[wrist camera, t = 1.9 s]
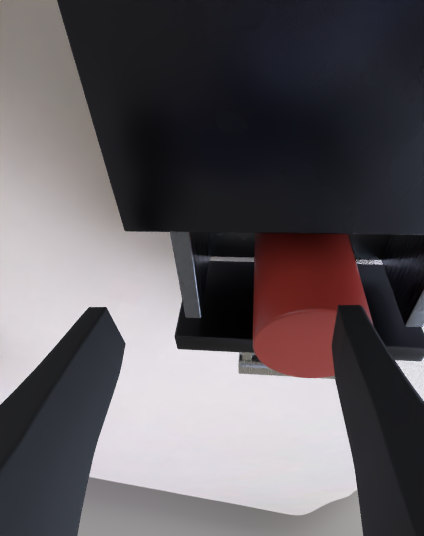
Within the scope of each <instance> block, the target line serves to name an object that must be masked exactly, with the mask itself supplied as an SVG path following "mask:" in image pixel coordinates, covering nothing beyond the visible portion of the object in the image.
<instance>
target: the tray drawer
mask: <svg viewBox="0 0 424 536" xmlns="http://www.w3.org/2000/svg"><path fill="white" fill-rule="evenodd" d="M170 235H171V240H172V246H173V251H174V257H175V262H176V268H177V273H178V279H179V284H180V289H181V295H182V303H181V308H180V313H179V318H178V323H177V327H176V332H175V340H176V344H177V348H178V349H188V350H208V351H227V352H239V373H241V374H258V375H275V376H289V375H285V374H282V373H279V372H277V371H274V370H272V369H270V368H268V367H267V366H266V365H264V364H263V363H262V362H261V361H260V360H259V359H258V358H257V356H256V354H255V352H254V349H253V303H254V262H233V261H210V256H217V257H254V256H255V233H217V232H170ZM348 235H349V239H350V242H351V246H352V250H353V253H354V257H355V259H364V260H382V263H383V265H370V264H357V268H358V271H359V275H360V279H361V282H362V286H363V289H364V293H365V297H366V300H367V304H368V308H369V311H370V315H371V318H372V322H373V326H374V328H375V330H376V331H377V333H378V335H379V336H380V338H381V340H382V341H383V343H384V344H385V346H386V348H387V349H388V351H389V352H390V354H391V356H392V357H393V359H394V360H404V361H422V360H423V358H424V333H423V330H422V328H421V327H423V326H424V235H376V234H348ZM293 377H294V376H293ZM323 378H327V379H335V376H330V377H323Z"/></svg>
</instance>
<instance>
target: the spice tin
mask: <svg viewBox="0 0 424 536" xmlns="http://www.w3.org/2000/svg"><path fill="white" fill-rule="evenodd" d="M338 305H361V306H362V307H364V309H365V311H366V313H367V315H368V317H369V319H370V321H371V323H372V324H373V322H372V318H371V315H370V311H369V308H368V304H367V300H366V297H365V293H364V289H363V286H362V282H361V279H360V275H359V271H358V268H357V264H356V260H355V257H354V253H353V250H352V246H351V242H350V239H349V235H348V234H296V233H255V256H254V303H253V349H254V352H255V354H256V356H257V358H258V359H259V360H260V361H261V362H262V363H263V364H264V365H266V366H267V367H268V368H270V369H272V370H274V371H277V372H279V373H282V374H285V375H289V376H294V377H302V378H323V377H330V376H335V373H334V365H333V355H332V346H331V345H332V339H333V333H334V327H335V321H336V315H337V308H338Z"/></svg>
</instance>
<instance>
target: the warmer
mask: <svg viewBox="0 0 424 536" xmlns="http://www.w3.org/2000/svg"><path fill="white" fill-rule="evenodd" d="M57 2H58V5H59V9H60V12H61V15H62V19H63V22H64V26H65V29H66V33H67V36H68V39H69V43H70V46H71V50H72V53H73V56H74V60H75V63H76V67H77V70H78V73H79V77H80V80H81V84H82V87H83V90H84V94H85V97H86V101H87V104H88V108H89V111H90V114H91V118H92V121H93V125H94V128H95V131H96V135H97V138H98V142H99V145H100V148H101V152H102V155H103V159H104V162H105V166H106V169H107V172H108V176H109V179H110V183H111V186H112V189H113V193H114V196H115V200H116V203H117V206H118V210H119V213H120V217H121V220H122V223H123V227H124V230H125V231H137V232H217V233H296V234H376V235H424V0H57Z"/></svg>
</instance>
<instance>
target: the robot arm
mask: <svg viewBox="0 0 424 536" xmlns="http://www.w3.org/2000/svg"><path fill="white" fill-rule="evenodd" d="M331 346H332V355H333V365H334V373H335V380H336V385H337V389H338V394H339V398H340V403H341V407H342V412H343V416H344V421H345V425H346V429H347V434H348V438H349V443H350V447H351V452H352V457H353V462H354V468H355V474H356V482H357V489H358V497H359V504H360V512H361V519H362V520H361V521H362V527H363V536H424V401H423V400H422V398H421V397H420V396H419V394H418V393H417V392H416V390H415V389H414V388H413V386H412V385H411V383H410V382H409V381H408V379H407V378H406V376H405V375H404V373H403V372H402V370H401V369H400V367H399V366H398V364H397V363H396V362H395V360H394V359H393V357H392V356H391V354H390V352H389V351H388V349H387V348H386V346H385V344H384V343H383V341H382V340H381V338H380V336H379V335H378V333H377V331H376V330H375V328H374V326H373V324H372V323H371V321H370V319H369V317H368V315H367V313H366V311H365V309H364V307H362V306H361V305H338V308H337V315H336V321H335V327H334V333H333V339H332V345H331ZM124 348H125V342H124V340H123V338H122V336H121V334H120V332H119V331H118V329H117V327H116V325H115V323H114V321H113V319H112V317H111V315H110V313H109V311H108V310H107V308H106V307H89V308H88V309H87V310H86V311H85V312H84V314H83V315H82V316H81V317H80V318H79V319H78V321H77V322H76V323H75V324H74V325H73V326H72V328H71V329H70V330H69V331H68V332H67V333H66V335H65V336H64V337H63V338H62V339H61V340H60V342H59V343H58V344H57V345H56V346H55V347H54V348H53V350H52V351H51V352H50V353H49V354H48V355H47V356H46V358H45V359H44V360H43V361H42V362H41V363H40V364H39V365H38V366H37V368H36V369H35V370H34V371H33V372H32V373H31V374H30V375H29V376H28V377H27V378H26V379H25V380H24V381H23V382H22V383H21V385H20V386H19V387H18V388H17V389H16V390H15V391H14V392H13V393H12V394H11V395H10V396H9V397H8V398H7V399H6V400H5V401H4V402H3V403H2V404H1V405H0V536H77V534H78V528H79V523H80V516H81V511H82V507H83V502H84V497H85V491H86V486H87V482H88V478H89V473H90V469H91V465H92V460H93V456H94V452H95V448H96V445H97V441H98V438H99V435H100V432H101V429H102V426H103V423H104V420H105V417H106V414H107V411H108V408H109V405H110V402H111V399H112V396H113V393H114V390H115V386H116V383H117V380H118V377H119V374H120V369H121V364H122V360H123V354H124Z"/></svg>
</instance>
